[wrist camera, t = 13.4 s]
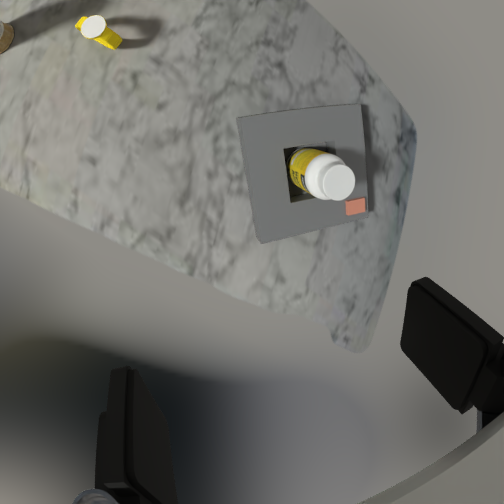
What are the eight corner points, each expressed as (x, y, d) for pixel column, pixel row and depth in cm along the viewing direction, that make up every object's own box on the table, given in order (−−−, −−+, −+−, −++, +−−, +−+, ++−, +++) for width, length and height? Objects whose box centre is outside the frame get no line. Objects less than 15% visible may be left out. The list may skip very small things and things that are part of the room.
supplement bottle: (276, 167, 41) (307, 182, 32) (305, 138, 40) (342, 146, 31) (302, 195, 43) (337, 216, 34) (329, 167, 42) (369, 182, 34)
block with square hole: (236, 117, 37) (241, 117, 34) (350, 104, 39) (363, 104, 36) (256, 237, 44) (262, 245, 41) (359, 212, 46) (370, 218, 43)
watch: (128, 39, 30) (124, 28, 25) (114, 57, 30) (108, 49, 25) (90, 18, 27) (81, 5, 22) (77, 37, 27) (65, 26, 22)
